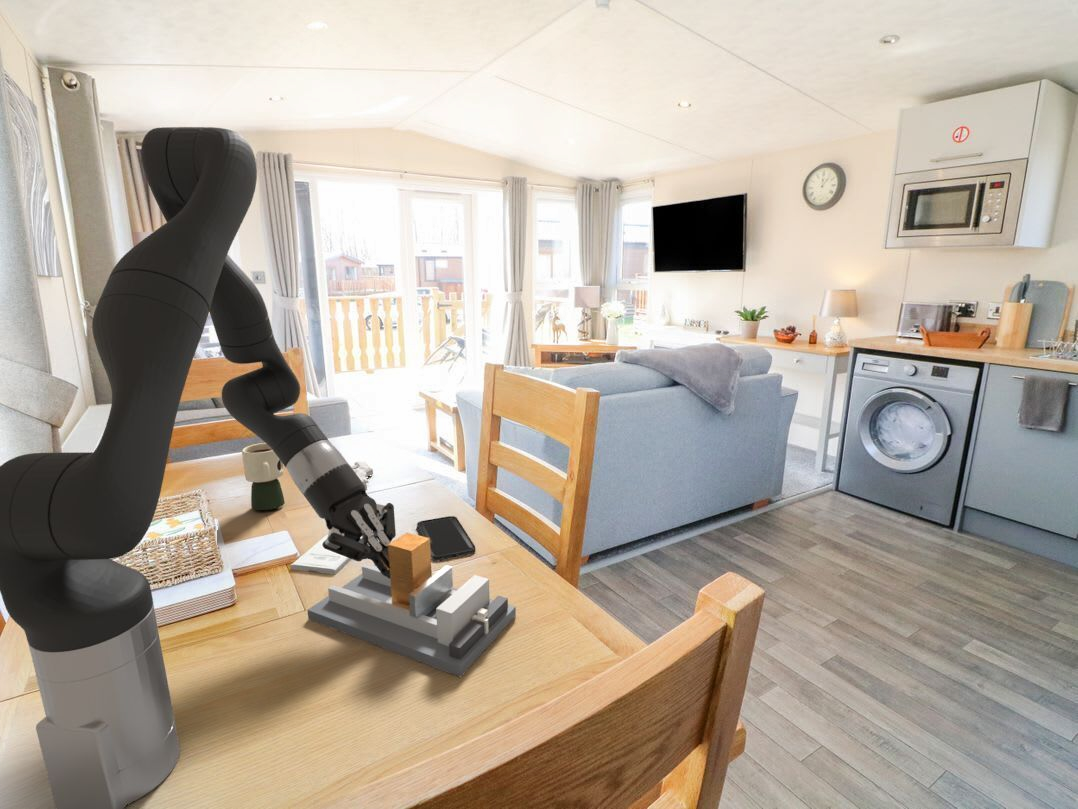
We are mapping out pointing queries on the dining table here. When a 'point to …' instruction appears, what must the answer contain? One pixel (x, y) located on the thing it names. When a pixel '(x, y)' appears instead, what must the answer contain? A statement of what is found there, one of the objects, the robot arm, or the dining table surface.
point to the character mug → (263, 476)
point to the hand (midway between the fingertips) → (396, 573)
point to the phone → (446, 538)
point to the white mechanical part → (362, 471)
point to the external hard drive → (320, 560)
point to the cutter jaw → (416, 575)
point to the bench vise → (417, 620)
